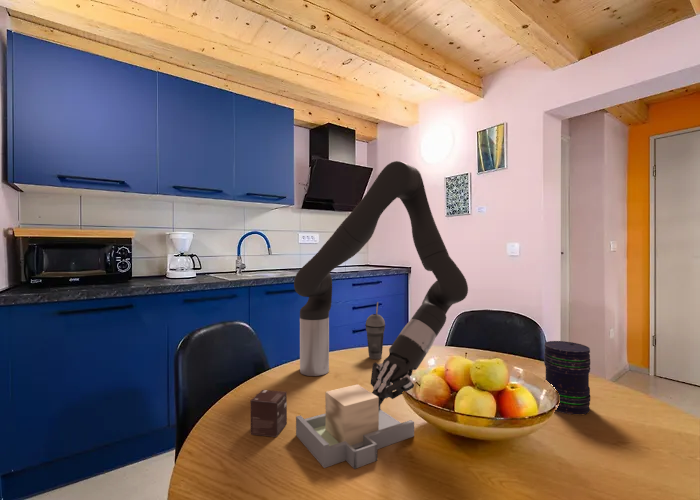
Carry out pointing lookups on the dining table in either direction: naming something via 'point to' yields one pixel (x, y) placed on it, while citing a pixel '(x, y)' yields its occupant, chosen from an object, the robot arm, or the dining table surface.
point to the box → (268, 413)
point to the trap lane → (355, 455)
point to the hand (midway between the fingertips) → (369, 408)
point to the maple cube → (351, 413)
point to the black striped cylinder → (569, 375)
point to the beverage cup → (375, 335)
